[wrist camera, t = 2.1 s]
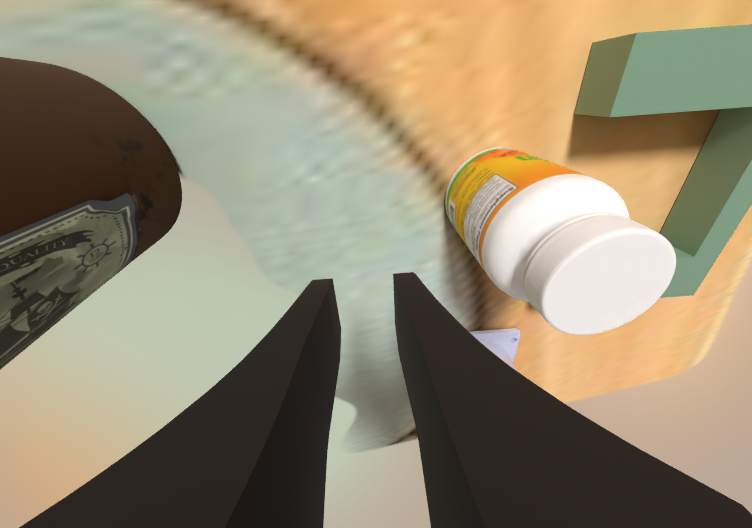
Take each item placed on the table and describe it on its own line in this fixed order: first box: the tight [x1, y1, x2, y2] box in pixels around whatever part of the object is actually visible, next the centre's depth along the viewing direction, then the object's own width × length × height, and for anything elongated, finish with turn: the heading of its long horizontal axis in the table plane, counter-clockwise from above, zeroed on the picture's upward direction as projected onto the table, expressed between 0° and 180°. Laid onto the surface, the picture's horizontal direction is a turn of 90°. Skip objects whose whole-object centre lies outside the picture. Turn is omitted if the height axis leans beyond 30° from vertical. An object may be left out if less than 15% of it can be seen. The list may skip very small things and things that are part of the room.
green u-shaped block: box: [574, 25, 752, 298], centre depth 16 cm, size 14×10×2 cm
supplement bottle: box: [445, 148, 676, 335], centre depth 13 cm, size 5×5×10 cm
